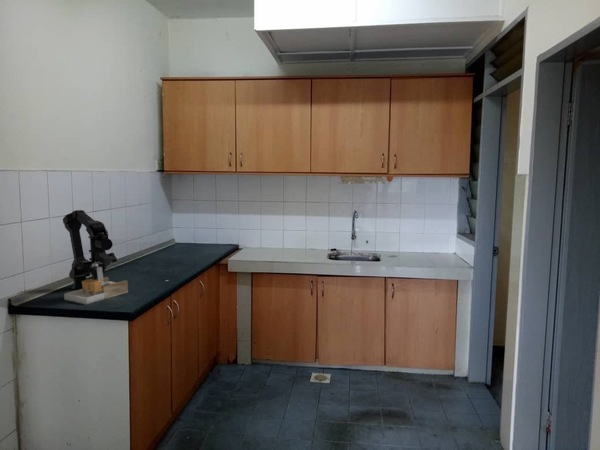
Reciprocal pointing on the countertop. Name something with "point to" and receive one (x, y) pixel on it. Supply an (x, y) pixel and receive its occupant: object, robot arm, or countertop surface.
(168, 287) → the countertop surface
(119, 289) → the slot block
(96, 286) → the tan cardboard cube
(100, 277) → the scraper
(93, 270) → the robot arm
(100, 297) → the chip tray
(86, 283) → the matte ochre cube
